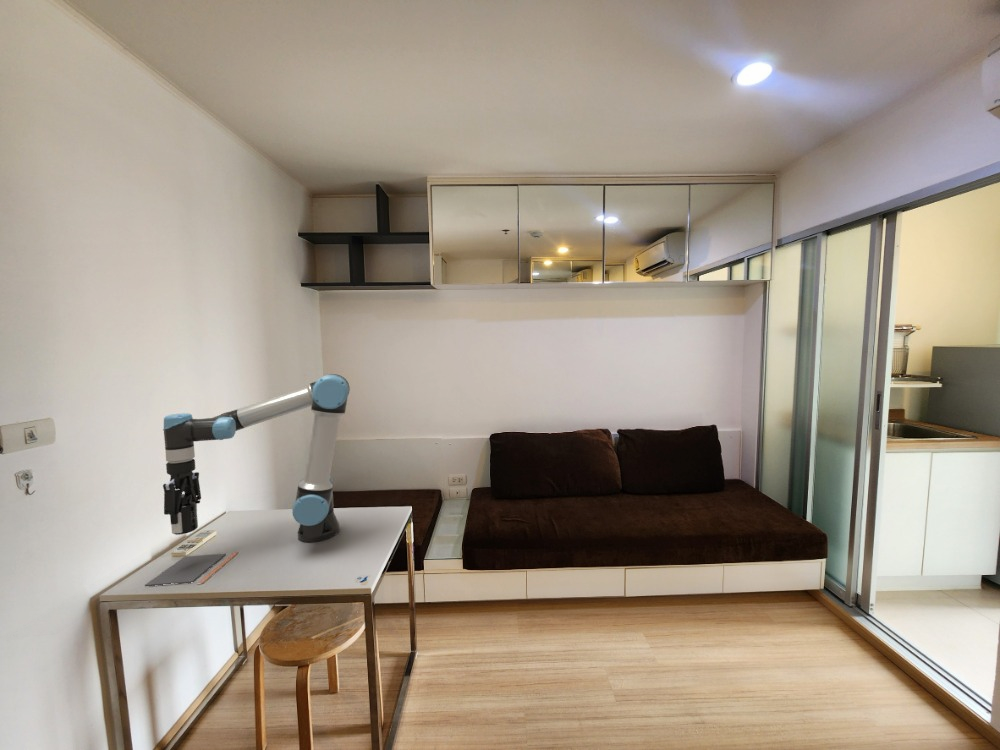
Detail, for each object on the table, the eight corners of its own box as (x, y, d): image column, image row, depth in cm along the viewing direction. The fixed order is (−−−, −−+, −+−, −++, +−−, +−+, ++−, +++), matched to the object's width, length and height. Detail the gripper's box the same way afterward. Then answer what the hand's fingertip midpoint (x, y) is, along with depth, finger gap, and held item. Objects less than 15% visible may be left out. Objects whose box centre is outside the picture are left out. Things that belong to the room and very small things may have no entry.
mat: (226, 555, 144) (225, 553, 144) (192, 583, 126) (192, 581, 126) (184, 558, 143) (184, 556, 143) (144, 586, 125) (144, 584, 125)
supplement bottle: (191, 525, 139) (189, 491, 138) (202, 528, 136) (199, 493, 135) (167, 533, 133) (165, 497, 132) (178, 536, 129) (175, 500, 129)
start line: (238, 553, 146) (238, 551, 146) (202, 584, 126) (202, 582, 126) (234, 553, 145) (234, 552, 145) (197, 584, 126) (197, 583, 126)
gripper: (189, 453, 142) (193, 516, 144) (145, 469, 123) (150, 542, 124) (211, 452, 143) (215, 515, 144) (170, 467, 123) (175, 540, 125)
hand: (185, 527), depth 134 cm, fingers closed on supplement bottle, 7 cm apart
